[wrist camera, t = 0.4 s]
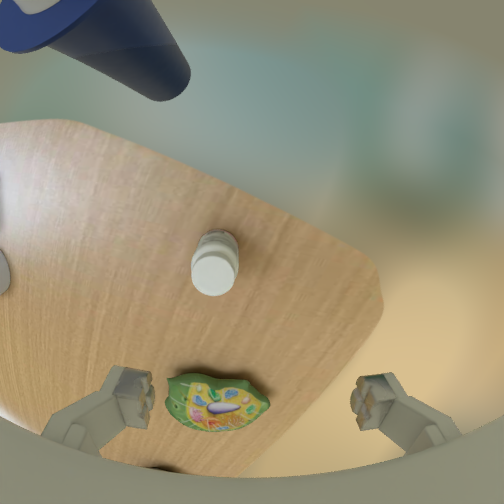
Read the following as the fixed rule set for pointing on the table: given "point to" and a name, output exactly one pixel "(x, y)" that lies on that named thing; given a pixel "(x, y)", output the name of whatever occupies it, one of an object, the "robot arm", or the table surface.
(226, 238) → the pill bottle
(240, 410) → the educational model
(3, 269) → the wedge on round base
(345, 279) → the table surface
